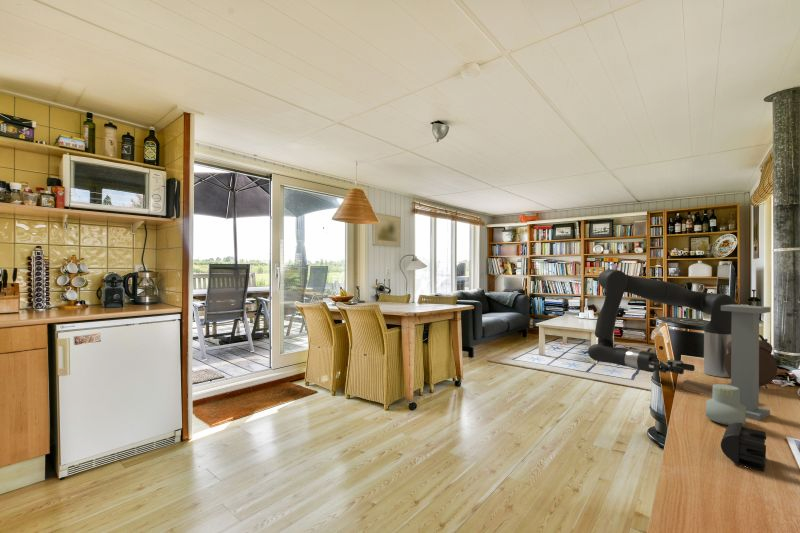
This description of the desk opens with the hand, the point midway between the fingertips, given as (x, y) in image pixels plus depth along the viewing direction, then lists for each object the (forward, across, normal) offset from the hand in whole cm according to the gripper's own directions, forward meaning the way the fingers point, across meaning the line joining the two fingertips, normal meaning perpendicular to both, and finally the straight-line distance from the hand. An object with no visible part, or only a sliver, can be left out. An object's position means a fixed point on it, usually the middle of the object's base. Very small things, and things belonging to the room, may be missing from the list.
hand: (688, 369), depth 138 cm
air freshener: (+19, -26, +7) cm, 33 cm away
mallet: (+7, 0, +7) cm, 10 cm away
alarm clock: (+10, +23, +7) cm, 26 cm away
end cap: (+30, -49, +7) cm, 58 cm away
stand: (+19, -12, +7) cm, 24 cm away
